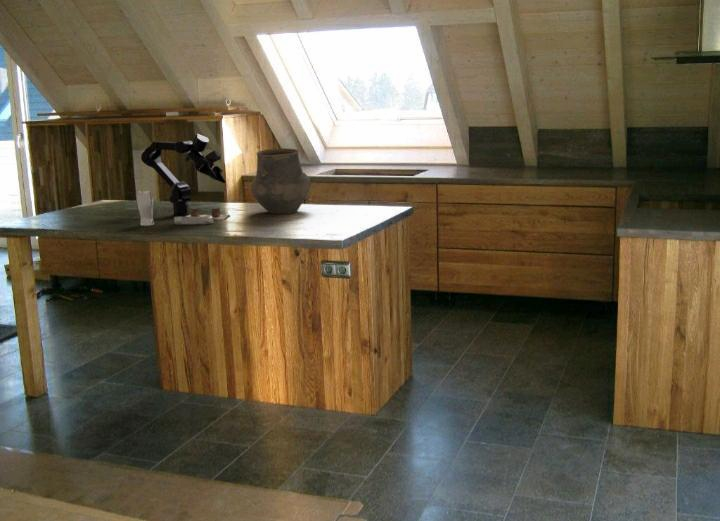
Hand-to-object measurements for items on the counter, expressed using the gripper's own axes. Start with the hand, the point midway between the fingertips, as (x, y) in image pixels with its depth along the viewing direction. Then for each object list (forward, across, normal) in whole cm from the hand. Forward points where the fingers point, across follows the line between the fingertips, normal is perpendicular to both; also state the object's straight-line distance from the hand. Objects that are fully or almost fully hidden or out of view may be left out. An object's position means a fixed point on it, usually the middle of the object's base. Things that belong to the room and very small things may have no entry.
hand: (220, 180), depth 384 cm
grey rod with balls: (+9, -9, +21) cm, 25 cm away
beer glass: (-5, -14, +36) cm, 39 cm away
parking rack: (+6, +3, +18) cm, 19 cm away
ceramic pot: (+23, +24, -6) cm, 34 cm away
